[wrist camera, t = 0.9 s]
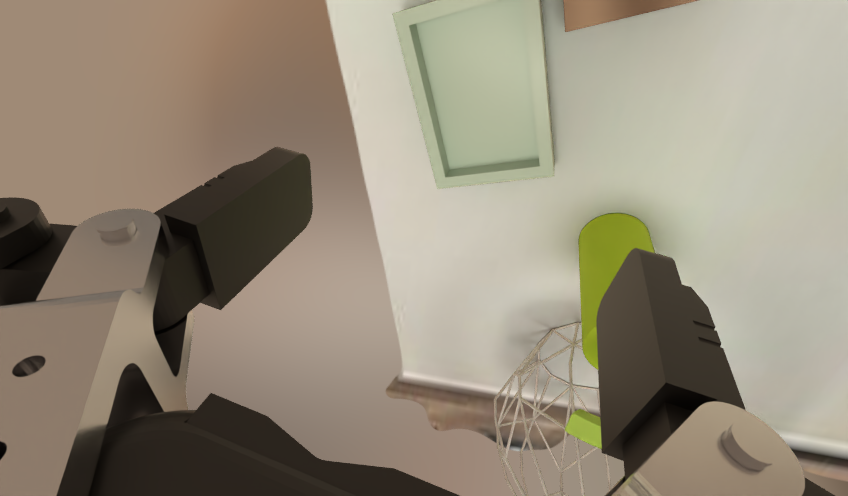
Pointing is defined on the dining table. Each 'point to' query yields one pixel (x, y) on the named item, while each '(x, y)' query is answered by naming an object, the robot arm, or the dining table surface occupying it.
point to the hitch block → (609, 10)
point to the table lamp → (535, 415)
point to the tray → (480, 88)
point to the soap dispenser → (601, 292)
